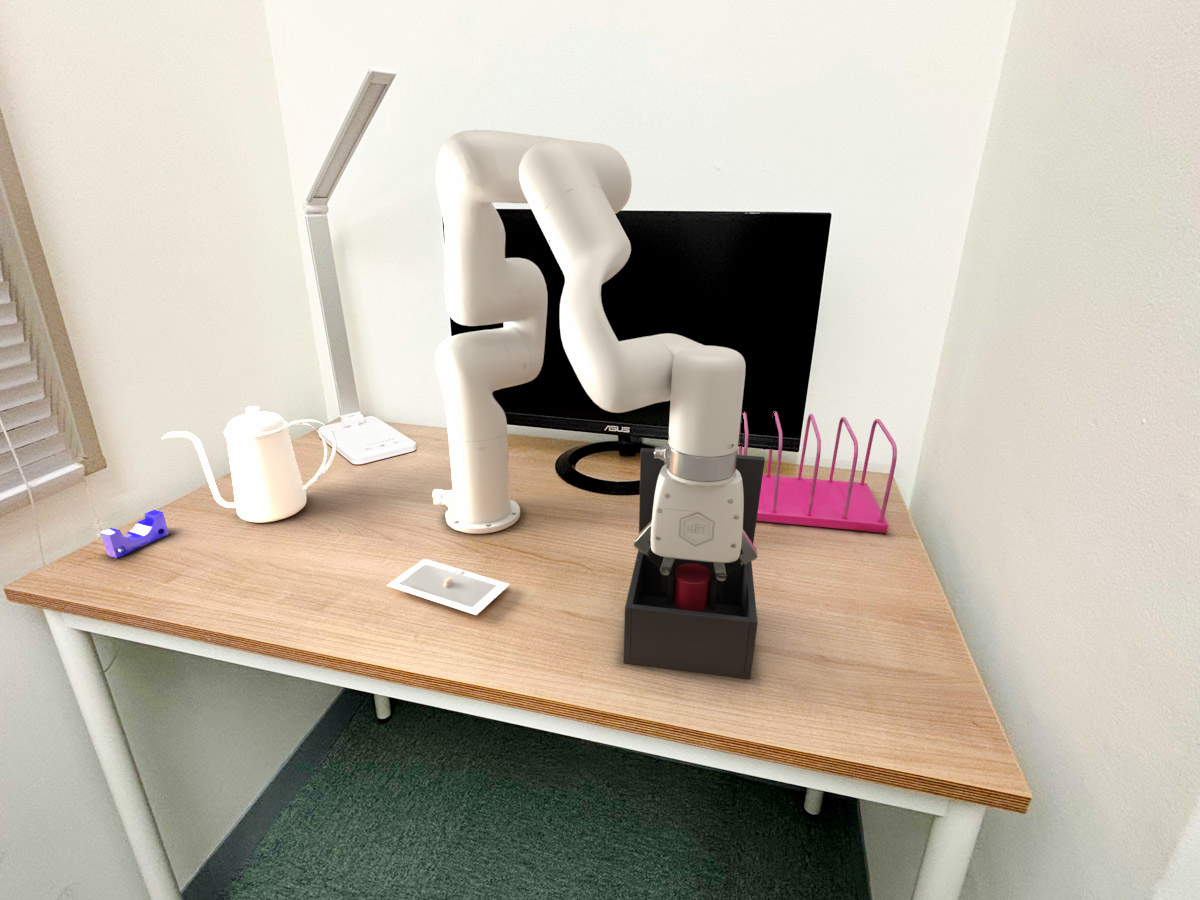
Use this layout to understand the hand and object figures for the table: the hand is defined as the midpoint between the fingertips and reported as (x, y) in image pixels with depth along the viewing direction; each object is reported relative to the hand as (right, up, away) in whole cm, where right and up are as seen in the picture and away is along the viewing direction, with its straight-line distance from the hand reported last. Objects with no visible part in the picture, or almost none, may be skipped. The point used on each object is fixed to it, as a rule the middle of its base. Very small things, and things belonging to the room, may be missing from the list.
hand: (690, 599), depth 74 cm
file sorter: (+26, +8, +37) cm, 46 cm away
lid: (+1, +11, +2) cm, 11 cm away
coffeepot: (-68, +7, +33) cm, 76 cm away
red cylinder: (0, 0, 0) cm, 0 cm away
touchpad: (-32, -2, +11) cm, 34 cm away
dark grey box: (0, -5, +3) cm, 6 cm away
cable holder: (-84, +3, +22) cm, 86 cm away
